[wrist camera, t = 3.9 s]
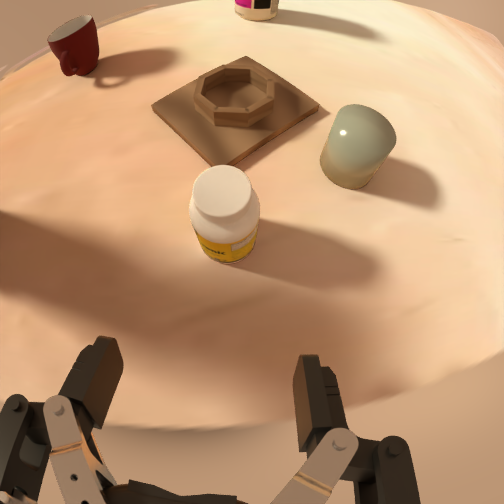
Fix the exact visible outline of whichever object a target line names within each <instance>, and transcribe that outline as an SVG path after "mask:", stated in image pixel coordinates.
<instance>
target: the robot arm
mask: <svg viewBox="0 0 504 504" xmlns="http://www.w3.org/2000/svg"><path fill="white" fill-rule="evenodd" d="M122 372H123V359H122V356H121V353H120V350H119V347H118V344H117V341H116V339H115V338H111V337H105V336H98V337H97V339H96V341H95V343H94V344H93V346H92V345H88V346H87V347H86V348H84V349H83V350H82V351H81V352H80V354H79V356H78V357H77V359H76V362H75V363H74V365H73V367H72V369H71V370H70V372H69V374H68V376H67V378H66V380H65V382H64V384H63V386H62V388H61V390H60V392H59V394H58V395H56V396H52V397H50V398H49V399H48V400H47V401H46V402H28V400H27V399H26V398H25V397H24V396H23V395H20V394H14V395H12V396H10V397H9V398H8V399H7V400H6V402H5V404H4V406H3V408H2V411H1V413H0V504H37V500H38V496H39V492H40V488H41V484H42V480H43V476H44V473H45V469H46V466H47V463H48V459H49V456H50V460H51V464H52V467H53V470H54V473H55V476H56V479H57V482H58V485H59V487H60V490H61V493H62V495H63V498H64V501H65V503H66V504H248V503H245V502H242V501H239V500H237V496H231V495H217V494H202V495H191V496H179V495H176V494H174V493H171V492H169V491H166V490H164V489H162V488H159V487H157V486H155V485H151V484H146V483H142V482H138V481H133V480H129V483H128V484H121V485H117V483H116V481H115V479H114V478H113V476H112V475H111V473H110V472H109V470H108V469H107V466H106V464H105V462H104V460H103V458H102V456H101V453H100V450H99V448H98V446H97V443H96V441H95V438H94V435H93V433H92V432H91V431H92V429H93V427H94V428H98V429H102V426H103V423H104V420H105V417H106V415H107V412H108V409H109V406H110V404H111V401H112V398H113V396H114V393H115V391H116V388H117V385H118V383H119V380H120V378H121V375H122ZM293 394H294V403H295V413H296V423H297V433H298V443H299V452H307V461H306V462H305V463H304V465H303V466H302V467H301V469H300V470H299V471H298V472H297V473H296V474H295V476H294V477H293V478H292V479H291V480H290V482H289V483H288V484H287V485H286V486H285V488H284V489H283V490H282V491H281V492H280V494H279V495H278V496H277V497H276V498H275V499H274V500H273V501H272V502H271V504H325V502H326V501H327V500H328V498H329V497H330V495H331V492H332V489H333V488H334V486H335V484H336V483H337V482H338V480H339V479H341V480H347V481H353V483H354V493H355V504H421V503H420V497H419V492H418V487H417V482H416V477H415V472H414V467H413V463H412V458H411V454H410V450H409V446H408V444H407V443H406V441H405V440H404V439H402V438H401V437H398V436H388V437H386V438H384V439H383V440H382V441H374V440H368V439H363V438H360V437H357V436H356V435H355V434H354V433H353V432H352V431H350V430H349V428H348V426H347V423H346V418H345V413H344V409H343V405H342V400H341V396H340V392H339V388H338V383H337V379H336V375H335V374H334V373H333V371H332V370H331V369H330V367H321V366H320V361H319V357H318V355H300V356H299V359H298V363H297V366H296V370H295V374H294V378H293ZM51 449H52V452H51Z"/></svg>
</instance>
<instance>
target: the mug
mask: <svg viewBox="0 0 504 504" xmlns="http://www.w3.org/2000/svg"><path fill="white" fill-rule="evenodd" d="M48 43H49V46H50V48H51V50H52V52H53V53H54V54H55V56H56V57H57V58H58V59H59V61H60V66H61V70H62V72H63V73H64V74H65V75H66V76H72V75H75V74H76V75H78V76H82V75H86V74H88V73H89V72H91V71H92V70H93V69H94V68H95V67H96V66H97V62H98V57H99V44H98V37H97V29H96V25H95V22H94V20H93V17H92V16H91V15H83V16H80V17H77V18H75V19H72V20H70V21H68V22H66V23H65V24H63V25H62V26H60V27H59V28H57V29H56V30H55V31H54V32H53V33H52V34H51V35H50V36H49V38H48Z"/></svg>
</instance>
